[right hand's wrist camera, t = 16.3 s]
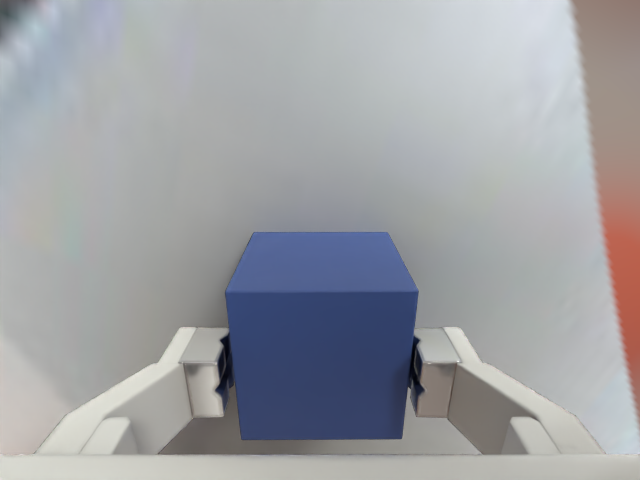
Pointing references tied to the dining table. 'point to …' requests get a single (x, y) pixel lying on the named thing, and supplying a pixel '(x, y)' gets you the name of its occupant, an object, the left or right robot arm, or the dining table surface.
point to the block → (321, 336)
